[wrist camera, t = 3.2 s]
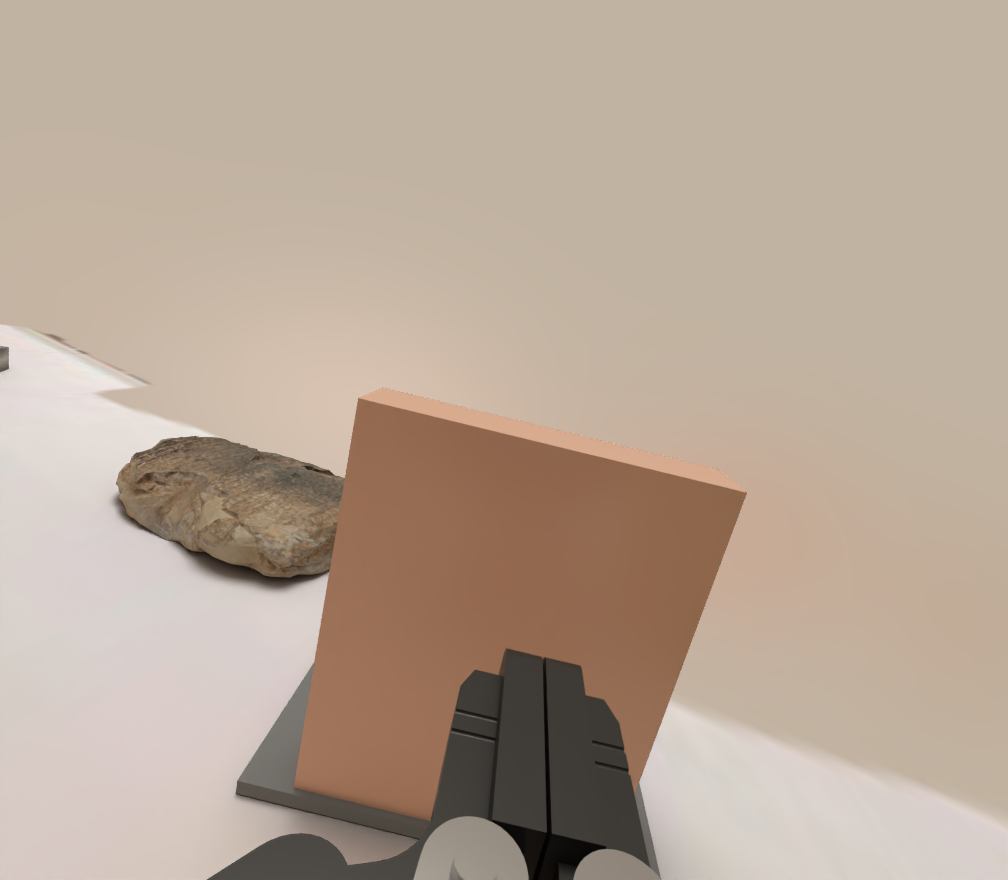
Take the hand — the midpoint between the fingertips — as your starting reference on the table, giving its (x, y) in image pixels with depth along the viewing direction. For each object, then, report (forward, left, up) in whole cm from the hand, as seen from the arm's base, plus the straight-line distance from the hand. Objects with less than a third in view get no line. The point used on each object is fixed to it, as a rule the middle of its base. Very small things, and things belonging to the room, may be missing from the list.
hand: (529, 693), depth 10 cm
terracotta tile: (0, +7, -11) cm, 14 cm away
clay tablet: (-20, +27, -13) cm, 35 cm away
